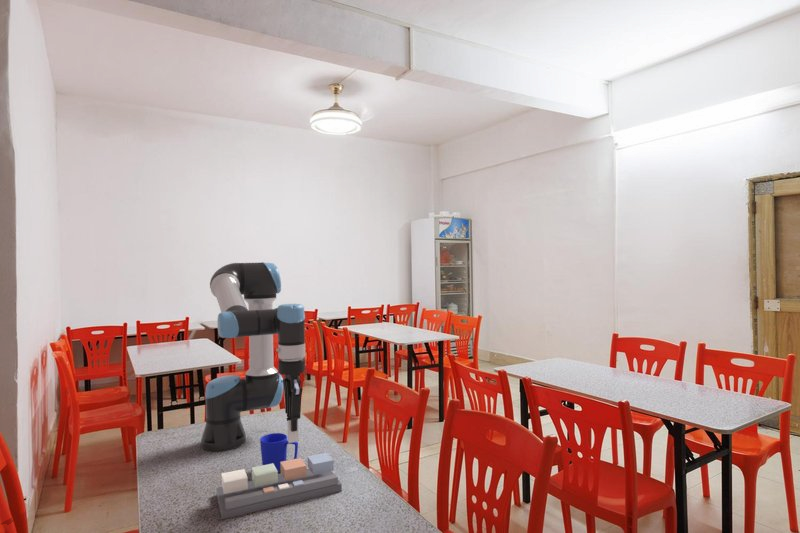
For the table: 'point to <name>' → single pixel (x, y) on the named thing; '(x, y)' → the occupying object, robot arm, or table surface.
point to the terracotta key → (293, 469)
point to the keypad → (276, 493)
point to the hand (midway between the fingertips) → (293, 441)
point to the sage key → (264, 475)
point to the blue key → (320, 463)
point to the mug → (275, 449)
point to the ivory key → (234, 481)
